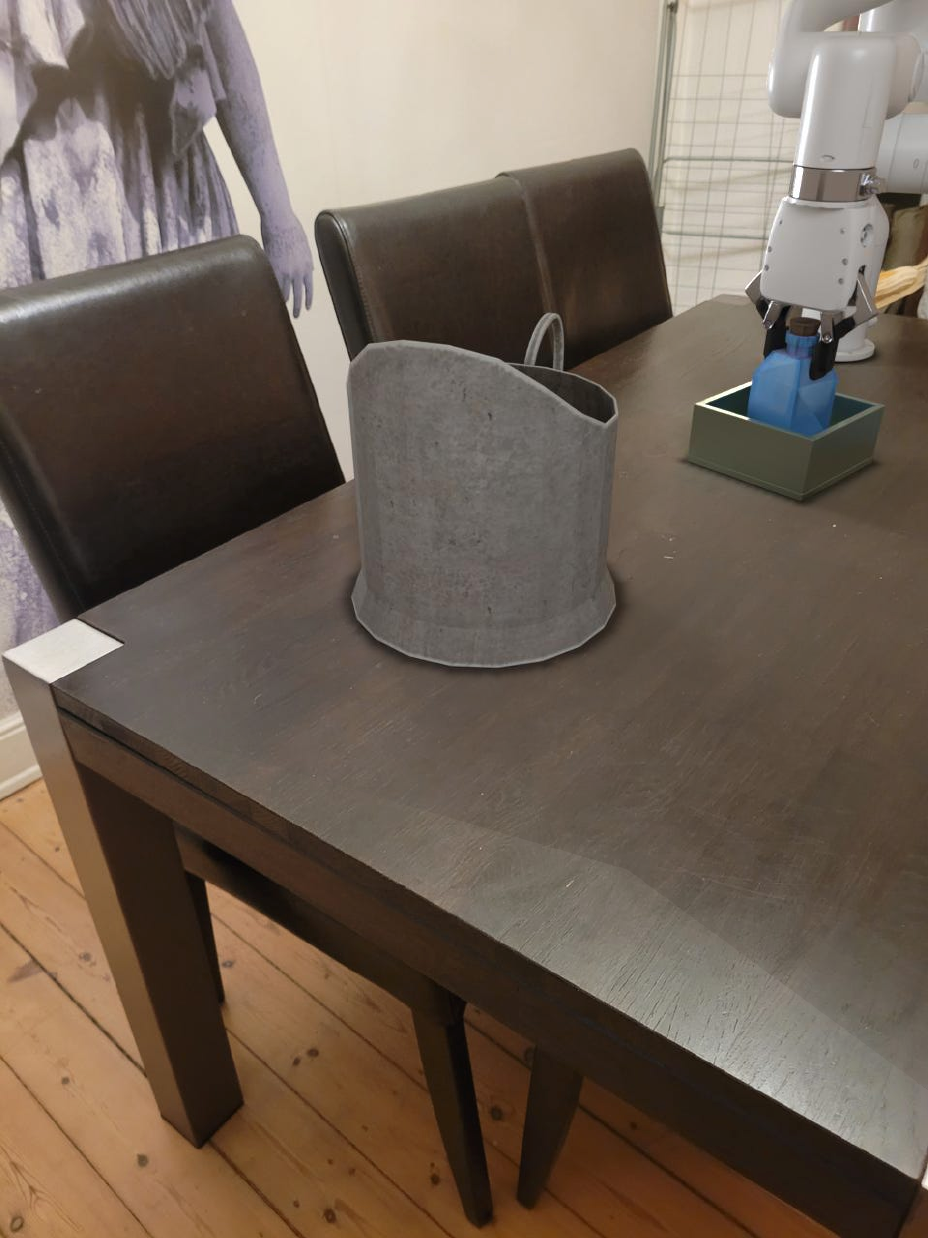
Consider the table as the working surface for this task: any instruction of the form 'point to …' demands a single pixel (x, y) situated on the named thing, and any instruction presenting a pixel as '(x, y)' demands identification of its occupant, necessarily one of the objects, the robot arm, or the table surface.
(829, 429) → the basket
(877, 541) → the table surface
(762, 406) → the perfume bottle
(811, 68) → the robot arm
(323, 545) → the table surface
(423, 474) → the coal scuttle
